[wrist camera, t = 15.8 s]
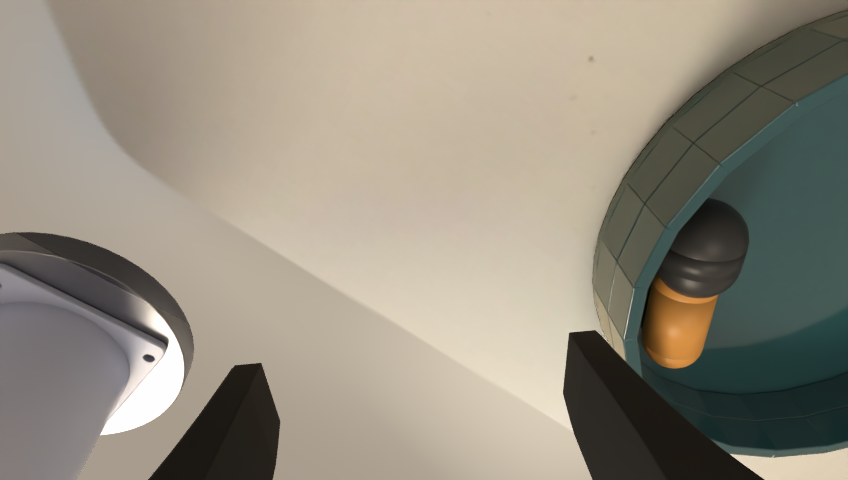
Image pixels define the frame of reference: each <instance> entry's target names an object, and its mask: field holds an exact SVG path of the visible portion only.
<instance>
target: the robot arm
mask: <svg viewBox="0 0 848 480" xmlns="http://www.w3.org/2000/svg"><path fill="white" fill-rule="evenodd" d="M166 351H167V346H166V345H165V343H163V342H162V341H160V340H158V339H156V338H154V337H152V336H150V335H148V334H146V333H144V332H142V331H140V330H138V329H136V328H134V327H132V326H130V325H128V324H126V323H124V322H122V321H120V320H118V319H116V318H114V317H112V316H110V315H108V314H106V313H104V312H102V311H100V310H98V309H96V308H94V307H92V306H90V305H88V304H85V303H83V302H81V301H79V300H77V299H75V298H73V297H71V296H69V295H67V294H65V293H63V292H61V291H59V290H57V289H55V288H53V287H51V286H49V285H47V284H45V283H43V282H41V281H39V280H37V279H35V278H33V277H31V276H29V275H27V274H25V273H23V272H21V271H19V270H17V269H15V268H13V267H11V266H9V265H6V264H2V263H0V480H77V478H78V476H79V474H80V472H81V470H82V469H83V467H84V465H85V463H86V461H87V459H88V457H89V455H90V453H91V452H92V450H93V448H94V446H95V444H96V442H97V440H98V438H99V437H100V435H101V433H102V431H103V429H104V427H105V425H106V423H107V422H108V421H109V419H110V418H111V417H112V416H113V415H114V414H115V412H116V411H117V410H118V409H119V408H120V407H121V405H122V404H123V403H124V402H125V401H126V400H127V399H128V397H129V396H130V395H131V394H132V393H133V392H134V390H135V389H136V388H137V387H138V386H139V385H140V383H141V382H142V381H143V380H144V379H145V378H146V377H147V375H148V374H149V373H150V372H151V371H152V370H153V368H154V367H155V366H156V365H157V364H158V363H159V361H160V360H161V359H162V358H163V357H164V355H165V353H166ZM148 354H149V355H152V356H149V355H148ZM563 395H564V399H565V402H566V406H567V410H568V414H569V417H570V421H571V424H572V428H573V431H574V435H575V437H576V439H577V442H578V445H579V447H580V450H581V452H582V455H583V457H584V460H585V462H586V465H587V467H588V469H589V472H590V474H591V477H592V479H593V480H764V479H763V478H761V477H760V476H758V475H757V474H756V473H754V472H753V471H751V470H750V469H749V468H747V467H746V466H744V465H743V464H742V463H740V462H739V461H738V460H736V459H735V458H734V457H732V456H731V455H730V454H728V453H727V452H726V451H725V450H723V449H722V448H721V447H719V446H718V445H717V444H716V443H714V442H713V441H712V440H711V439H709V438H708V437H707V436H706V435H705V434H703V433H702V432H701V431H700V430H699V429H697V428H696V427H695V426H694V425H693V424H692V423H690V422H689V421H688V420H687V419H686V418H685V417H683V416H682V415H681V414H680V413H679V412H678V411H677V410H676V409H674V408H673V407H672V406H671V405H670V404H669V403H668V402H667V401H666V400H665V399H664V398H663V397H661V396H660V395H659V394H658V393H657V392H656V391H655V390H654V389H653V388H652V387H651V386H650V385H649V384H648V383H647V382H646V381H645V380H644V379H643V378H642V377H641V376H640V375H639V374H638V373H637V372H636V371H635V370H634V369H633V368H632V367H631V366H630V365H629V364H628V363H627V362H626V361H625V360H624V359H623V358H622V357H621V356H620V355H619V354H618V353H617V352H616V351H615V350H614V349H613V348H612V347H611V346H610V345H609V344H608V343H607V341H606V340H605V339H604V338H603V337H602V336H601V335H600V334H599V333H598V332H597V331H595V330H593V331H583V332H573V333H569V340H568V350H567V360H566V369H565V379H564V389H563ZM279 429H280V419H279V416H278V413H277V410H276V407H275V404H274V401H273V398H272V395H271V392H270V389H269V385H268V383H267V379H266V376H265V373H264V370H263V367H262V364H261V363H256V364H246V365H235V366H234V367H233V368H232V369H231V371H230V372H229V374H228V375H227V377H226V378H225V379H224V381H223V382H222V383H221V385H220V386H219V388H218V389H217V391H216V392H215V393H214V395H213V396H212V398H211V399H210V400H209V402H208V403H207V405H206V406H205V407H204V409H203V410H202V412H201V413H200V414H199V416H198V417H197V419H196V420H195V421H194V423H193V424H192V425H191V426H190V428H189V429H188V430H187V432H186V433H185V434H184V436H183V437H182V438H181V440H180V441H179V442H178V444H177V445H176V446H175V448H174V449H173V450H172V452H171V453H170V454H169V455H168V456H167V458H166V459H165V460H164V461H163V462H162V464H161V465H160V466H159V467H158V469H157V470H156V471H155V472H154V473H153V475H152V476H151V477H150V478H149V479H148V480H272V479H273V475H274V470H275V465H276V458H277V449H278V439H279Z"/></svg>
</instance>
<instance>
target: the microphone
mask: <svg viewBox="0 0 848 480" xmlns="http://www.w3.org/2000/svg"><path fill="white" fill-rule="evenodd" d="M748 246H749V231H748V227H747V224H746V222H745V220H744V218H743V217H742V216H741V214H740V213H739V212H738V211H737V210H736V209H734V208H733V207H732V206H730V205H729V204H727V203H725V202H722V201H720V200H716V199H711V198H707V200H706V201H705V202H704V203H703V204H702V205H701V207H700V208H699V209H698V210H697V211H696V212H695V213H694V215H693V216H692V217H691V218H690V219H689V220H688V222H687V223H686V224H685V225H684V226H683V227H682V228H681V230H680V231H679V232H678V234H677V236H676V238H675V240H674V241H673V243H672V245H671V247H670V249H669V251H668V253H667V254H666V256H665V258H664V260H663V262H662V264H661V266H660V267H659V269H658V271H657V273H656V275H655V277H654V278H653V280H652V283H651V288H650V294H649V299H648V304H647V309H646V314H645V319H644V324H643V329H642V337H641V340H642V345H643V348H644V350H645V352H646V354H647V355H648V356H649V357H650V358H651V359H652V360H653V361H654V362H656V363H657V364H659V365H661V366H663V367H667V368H673V369H676V368H683V367H686V366H689V365H690V364H692V363H694V362H695V361H696V360H697V359H698V357H699V356H700V355H701V353H702V350H703V347H704V344H705V340H706V337H707V333H708V330H709V326H710V323H711V319H712V316H713V312H714V309H715V305H716V302H717V298H718V295H719V294H721V293H723V292H724V291H726V290H727V289H729V288H730V287H731V286H732V285H733V284H734V282H735V281H736V280H737V279H738V277H739V274H740V272H741V270H742V266H743V263H744V260H745V257H746V253H747V250H748Z"/></svg>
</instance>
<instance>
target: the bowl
mask: <svg viewBox="0 0 848 480" xmlns="http://www.w3.org/2000/svg"><path fill="white" fill-rule="evenodd" d="M707 198H711V199H716V200H720V201H722V202H725V203H727V204H729V205H730V206H732V207H733V208H734V209H736V210H737V211H738V212H739V213H740V214H741V216H742V217H743V218H744V220H745V222H746V224H747V227H748V231H749V246H748V250H747V253H746V257H745V260H744V263H743V266H742V270H741V272H740V274H739V277H738V279H737V280H736V281H735V282H734V284H733V285H732V286H731V287H730V288H729V289H727V290H726V291H724V292H723V293H721V294H719V295H718V298H717V302H716V305H715V309H714V312H713V316H712V319H711V323H710V326H709V330H708V333H707V337H706V340H705V344H704V347H703V350H702V353H701V355H700V356H699V357H698V359H697V360H696V361H695V362H694V363H692V364H690V365H689V366H686V367H683V368H676V369H673V368H667V367H663V366H661V365H659V364H657V363H656V362H654V361H653V360H652V359H651V358H650V357H649V356H648V355H647V354H646V352H645V350H644V348H643V345H642V340H641V337H642V329H643V324H644V319H645V314H646V309H647V304H648V299H649V294H650V288H651V283H652V280H653V278H654V277H655V275H656V273H657V271H658V269H659V267H660V266H661V264H662V262H663V260H664V258H665V256H666V254H667V253H668V251H669V249H670V247H671V245H672V243H673V241H674V240H675V238H676V236H677V234H678V232H679V231H680V230H681V228H682V227H683V226H684V225H685V224H686V223H687V222H688V220H689V219H690V218H691V217H692V216H693V215H694V213H695V212H696V211H697V210H698V209H699V208H700V207H701V205H702V204H703V203H704V202H705V201H706V200H707ZM593 291H594V301H595V306H596V309H597V313H598V316H599V320H600V323H601V327H602V330H603V332H604V334H605V336H606V338H607V340H608V342H609V344H610V346H611V347H612V348H613V349H614V350H615V351H616V352H617V353H618V354H619V355H620V356H621V357H622V358H623V359H624V360H625V361H626V362H627V363H628V364H629V365H630V366H631V367H632V368H633V369H634V370H635V371H636V372H637V373H638V374H639V375H640V376H641V377H642V378H643V379H644V380H645V381H646V382H647V383H648V384H649V385H650V386H651V387H652V388H653V389H654V390H655V391H656V392H657V393H658V394H659V395H660V396H661V397H663V398H664V399H665V400H666V401H667V402H668V403H669V404H670V405H671V406H672V407H673V408H674V409H676V410H677V411H678V412H679V413H680V414H681V415H682V416H683V417H685V418H686V419H687V420H688V421H689V422H690V423H692V424H693V425H694V426H695V427H696V428H697V429H699V430H700V431H701V432H702V433H703V434H705V435H706V436H707V437H708V438H709V439H711V440H712V441H713V442H714V443H716V444H717V445H718V446H719V447H721V448H722V449H723V450H725V451H726V452H727V453H728V454H737V455H748V456H759V457H773V458H775V457H786V456H797V455H808V454H819V453H827V452H831V451H836V450H840V449H844V448H848V11H844V12H840V13H837V14H834V15H832V16H829V17H826V18H824V19H821V20H819V21H816V22H814V23H811V24H808V25H806V26H803V27H801V28H798V29H796V30H794V31H792V32H790V33H788V34H787V35H785V36H783V37H781V38H779V39H777V40H775V41H773V42H771V43H769V44H767V45H765V46H763V47H761V48H760V49H758V50H757V51H755V52H753V53H752V54H750V55H749V56H747V57H746V58H744V59H743V60H741V61H740V62H738V63H736V64H735V65H733V66H732V67H730V68H729V69H727V70H726V71H724V72H723V73H722V74H721V75H719V76H718V77H717V78H716V79H714V80H713V81H712V82H711V83H709V84H708V85H707V86H706V87H704V88H703V89H702V90H701V91H699V92H698V93H697V94H696V95H694V96H693V97H692V98H691V99H690V100H689V101H688V102H687V103H686V104H685V105H684V106H683V107H682V108H681V109H680V110H679V111H678V112H677V113H676V114H675V115H674V116H673V117H672V118H670V119H669V120H668V121H667V122H666V124H665V125H664V126H663V127H662V128H661V129H660V131H659V132H658V133H657V134H656V135H655V137H654V138H653V139H652V140H651V141H650V142H649V144H648V145H647V146H646V147H645V148H644V150H643V151H642V152H641V154H640V155H639V157H638V158H637V160H636V161H635V163H634V164H633V166H632V167H631V169H630V170H629V172H628V173H627V175H626V176H625V177H624V179H623V181H622V183H621V185H620V187H619V189H618V191H617V193H616V195H615V196H614V198H613V200H612V202H611V204H610V206H609V209H608V211H607V214H606V217H605V220H604V222H603V225H602V228H601V230H600V233H599V238H598V242H597V247H596V251H595V256H594V267H593Z"/></svg>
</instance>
